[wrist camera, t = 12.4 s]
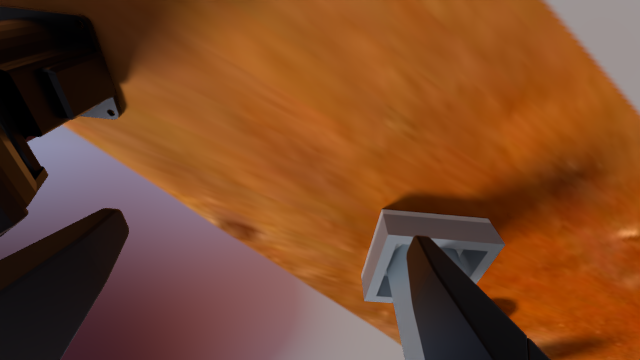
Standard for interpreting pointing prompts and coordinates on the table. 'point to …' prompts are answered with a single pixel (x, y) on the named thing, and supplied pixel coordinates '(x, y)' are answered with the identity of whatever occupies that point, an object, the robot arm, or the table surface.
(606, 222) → the table surface
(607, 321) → the table surface
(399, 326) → the tall grey rectangular prism
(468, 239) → the tray
